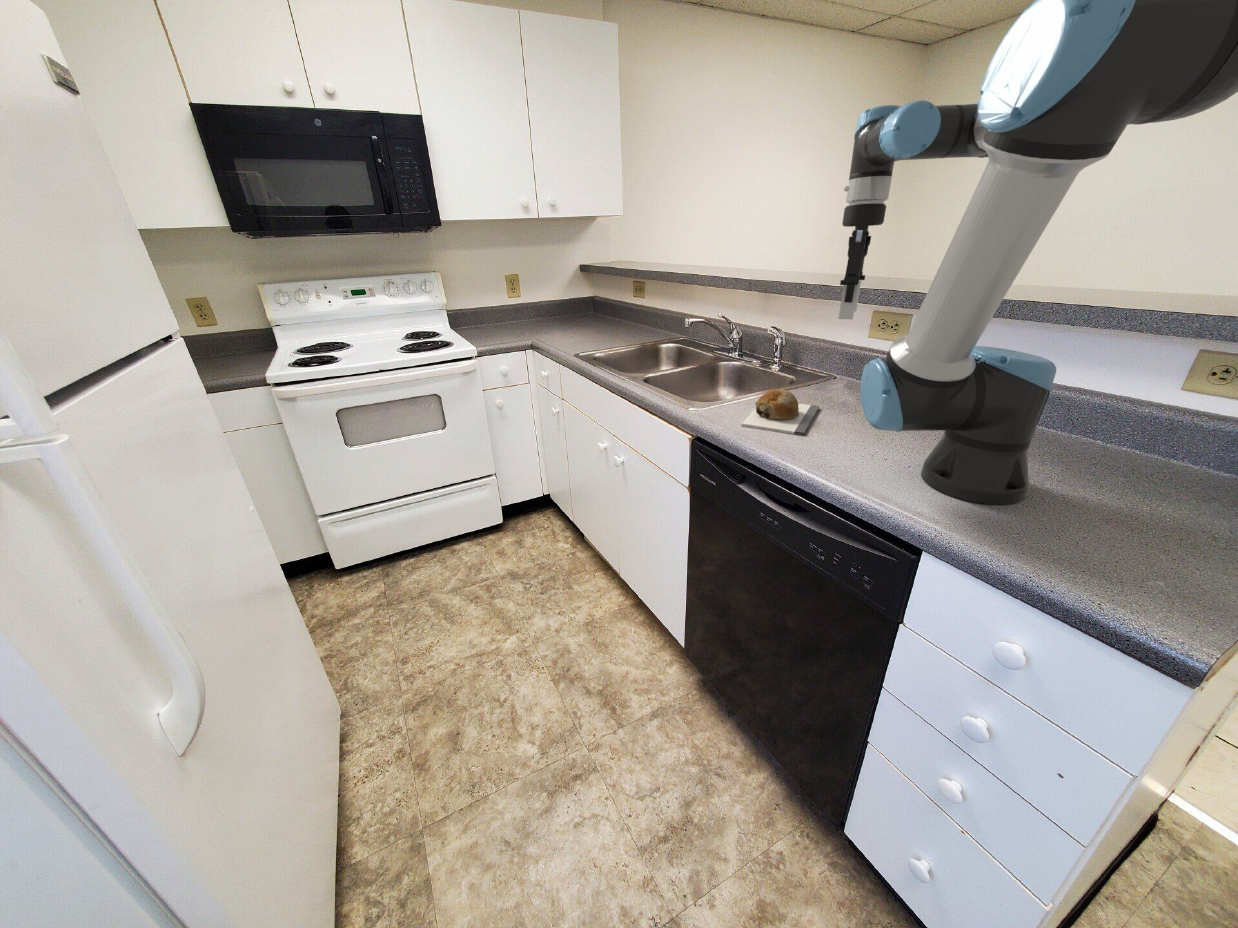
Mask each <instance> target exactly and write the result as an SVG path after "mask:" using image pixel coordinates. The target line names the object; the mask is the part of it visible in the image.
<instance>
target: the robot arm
mask: <svg viewBox="0 0 1238 928" xmlns="http://www.w3.org/2000/svg"><path fill="white" fill-rule="evenodd" d="M979 89H980V90H979V92H980V95H981V98H980V99H979V100H978V102H977V103H968V104H948V105H947V104H946V105H945V104H944V105H943V104H942V105H935V104H934V103H932V102H930V101H928V100H921V99H920V100H915V101H913V102H909V103H908V102H907V103H906V104H904V105H902V106H900V105H897V104H896V105H895V104H884V105H880V106H879V105H878V106H875V107H871V108H867V109H865V110H863V111H862V112H861V113H860V115H859V117H858V121H857V123H856V129H855V133H854V142H853V148H852V149H853V150H852V156H851V163H850V164H851V165H850V169H849V170H850V171H849V178H848V184H849V185H846V186H844V189H843V191H844V192H846V200H845V202H846V203H847V204H848V205H847V206H845V207H844V210H843V216H842V223H841V225H842V226H843V227H846V228H847V227H849V228H851V227H854V230H853V231H852V232H851V236H849V237H848V244H847V245H848V250H847V257H848V258H847V265H846V269H845V275H844V277H843V279H841V280H840V283H839V285H840V286H843V287H842V293H841V300H840V304H839V306H840V307H839V311H838V312H839V313H838V318H837V319H838V320H853V319H854V316H855V312H857V308H858V303H859V297H860V291H861V284H862V281H865V279H866V274H865V275H864V274H863V273H864V272H863V269H864V264H865V257H867V255H868V250H869V246H870V244H871V242H872V241H871V240H872V235H870V231H869V227H872V226H873V227H875V226H881V225H882V224H884V222H885V217H886V216H885V215H886V210H887V205H886V203H885V202H886V201H887V200H889V195H890V191H891V184H892V179H893V170H894V165H895V162H897V161H898V162H899V161H910V160H911V161H912V160H934V159H949V158H954V159H956V158H957V159H958V158H981V159H982V158H983V159H985V158H988V162H987V164H986V166H985V168H984V171H983V173H982V175H981V177H980V179H979V181H978V183H977V185H976V187H975V190H974V192H973V194H972V196H971V198H970V201H969V202H968V204H967V207H966V209H965V211H964V213H963V215H962V216H961V217H962V218H961V220H960V222H959V224H958V226H957V228H956V230H955V233H954V235H953V236H952V240H951V241H950V243H949V245H948V248H947V250H946V252H945V254H944V256H943V259H942V260H941V262H940V265H939V267H938V269H937V271H936V273H935V276H934V277H933V280H932V282H931V284H930V287H929V289H928V290H927V292H926V295H925V297H924V300H923V301H922V303H921V305H920V308H919V310H918V312H917V314H916V317H915V318H914V320H913V323H912V325H911V327H910V328H909V329H910V330H909V332H908V334H906V335H903V336H901V337H898V338H897V339H895V340H894V341H893V342H892V344H891V345H890V347H889V350H888V352H887V354H886V357H885V358H881V357H877V358H875V359H871V360H870V361H868V362H867V363H866V365H865V366H864V368H863V369H862V374H861V378H860V380H861V381H860V401H861V407H862V411H863V413H864V416H865V419H866V421H867V422H868V424H869V425H870V426H871V427H872V428H874V429H876V430H879V431H887V432H888V431H889V432H891V431H892V432H896V433H897V432H900V433H901V432H921V431H922V432H923V431H927V432H928V431H930V432H931V431H944V432H943V435H942V436H941V438H940V440H939V441H938V442H937V443H936V445H935V447H933V448H932V451H931V452H930V453H929V454H928V456H927V457H926V459H925V460H924V462H923V463H922V464H923V465H922V467H921V472H920V476H921V478H922V480H923V481H924V482H925V484H928V486H929V487H931V488H933V489H935V490H936V491H939V492H940V493H943V494H945V495H948V496H950V497H954V498H957V499H960V500H963V501H968V502H973V503H979V504H985V505H1001V506H1002V505H1010V504H1011V505H1012V504H1016V503H1019V502H1021V501H1022V500H1023V499H1024V498H1025V496H1026V493H1027V491H1028V488H1029V484H1030V481H1029V480H1030V479H1029V477H1030V476H1029V463H1028V451H1029V448H1030V445H1031V442H1032V440H1033V437H1034V435H1035V432H1036V430H1037V427H1038V424H1039V421H1040V420H1041V419H1040V418H1041V416H1042V414H1043V412H1044V408H1045V406H1046V404H1047V401H1048V399H1049V396H1050V394H1051V392H1053V384H1054V382H1055V381H1054V380H1055V377H1056V374H1057V367H1056V364H1055V363H1054V362H1053V361H1051V360H1050V359H1048V358H1045V357H1042V356H1040V355H1039V356H1038V355H1036V354H1032V353H1027V352H1023V351H1018V350H1014V349H1013V350H1012V349H1007V348H1000V347H996V346H995V347H994V346H985V345H977V344H978V342H979V340H980V338H981V337H982V335H983V334H984V333H985V330H986V329H987V327H988V325H989V323H990V322H991V320H992V319H993V316H994V315H995V313H996V311H998V308H999V306H1000V305H1001V304H1002V302H1003V300H1004V298H1005V296H1007V293H1008V292H1009V290H1010V288H1011V286H1012V285H1013V283H1014V281H1015V280H1016V278H1017V277H1018V275H1019V274H1020V272H1021V270H1022V268H1023V267H1024V265H1025V264H1026V261H1027V260H1028V258H1029V257H1030V254H1031V253H1032V252H1033V250H1034V249H1035V247H1036V245H1037V243H1038V242H1039V240H1040V238H1041V236H1042V235H1043V234H1044V231H1045V230H1046V229H1047V226H1048V225H1049V223H1050V222H1051V219H1052V218H1053V217H1054V215H1055V213H1056V211H1057V210H1058V208H1059V206H1060V205H1061V203H1062V201H1063V199H1064V198H1065V196H1066V195H1067V193H1068V192H1069V190H1070V188H1071V186H1072V185H1073V183H1074V181H1075V179H1076V178H1077V177H1078V174H1080V172H1081V171H1082V170H1084V169H1085V168H1088V167H1091V165H1094V164H1095V163H1098V162H1099V161H1102V160H1104V159H1106V158H1107V157H1108V156H1109V154H1110V153H1111V152H1112V150H1113V148H1114V146H1115V145H1116V143H1117V142H1118V140H1119V139H1120V137H1121V136H1122V135H1123V132H1124V131H1125V129H1126V128H1127V126H1128V125H1134V126H1138V125H1145V124H1153V123H1154V124H1155V123H1161V122H1170V121H1175V120H1180V119H1185V118H1187V117H1188V118H1189V117H1191V116H1194V115H1196V114H1200V113H1203V112H1204V111H1207V110H1209V109H1211V108H1213V107H1215V106H1217V105H1219V104H1221V103H1223V102H1225V101H1226V100H1228V99H1230V98H1231V97H1232V96H1233V95H1235V94H1237V93H1238V0H1034V1H1033V2H1032V3H1031V4H1029V5H1028V6H1027V7H1026V8H1024V10H1023V11H1022V12H1021V14H1019V16H1018V17H1017V18H1016V20H1015V21H1014V23H1013V24H1012V25H1011V26H1010V27H1009V29H1008V31H1007V32H1006V33H1005V35H1004V37H1003V38H1002V40H1001V41H1000V44H999V45H998V47H997V48H996V50H995V52H994V54H993V55H992V57H991V60H990V62H989V64H988V66H987V70H986V72H985V74H984V77H983V79H982V82H981V86H980V88H979Z"/></svg>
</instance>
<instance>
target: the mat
mask: <svg viewBox="0 0 1238 928" xmlns="http://www.w3.org/2000/svg"><path fill="white" fill-rule="evenodd" d="M798 409H799V410H798V413H799V416H796V417H795V418H793V419H785V420H782V421H780V420H771V419H766V418H763V417H761V416H759V414H757V412H756V407H755V408H754V409H753V410H752V411H751V412H750V413H749V414H748V416H747V417H746V418H745V419H744V420H743V421H742V422H741V427H745V428H752V429H758V430H759V429H760V430H763V431H764V430H766V431H770V432H771V431H773V432H776V433H777V432H778V433H783V434H790V435H796V436H797V435H798V436H803V437H804V435H805V434H806V433H807V430H809V427H810V425H811V424H812V421H813V420H814V418H815V417H816V415H817V413H818V411H819V409H820V405H817V404H816V405H814V404H803V403H799V404H798Z"/></svg>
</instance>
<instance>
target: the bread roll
mask: <svg viewBox="0 0 1238 928" xmlns="http://www.w3.org/2000/svg"><path fill="white" fill-rule="evenodd" d="M798 404H800V403H799V402H798V399H797V398H796V396H795V394H794V393H792V392H791V391H789V390H786V389H784V388H774V389H770V390H769V391H767V392H765V393H764V394H762V395H761V396H760V397H759V398H758V399H757V401H756V402H755V408H756V412H757V414H759V416H761V417H763V418H766V419H771V420H780V421H782V420H785V419H793V418H795V417H796V416H799V413H798V410H799V409H798Z"/></svg>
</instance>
